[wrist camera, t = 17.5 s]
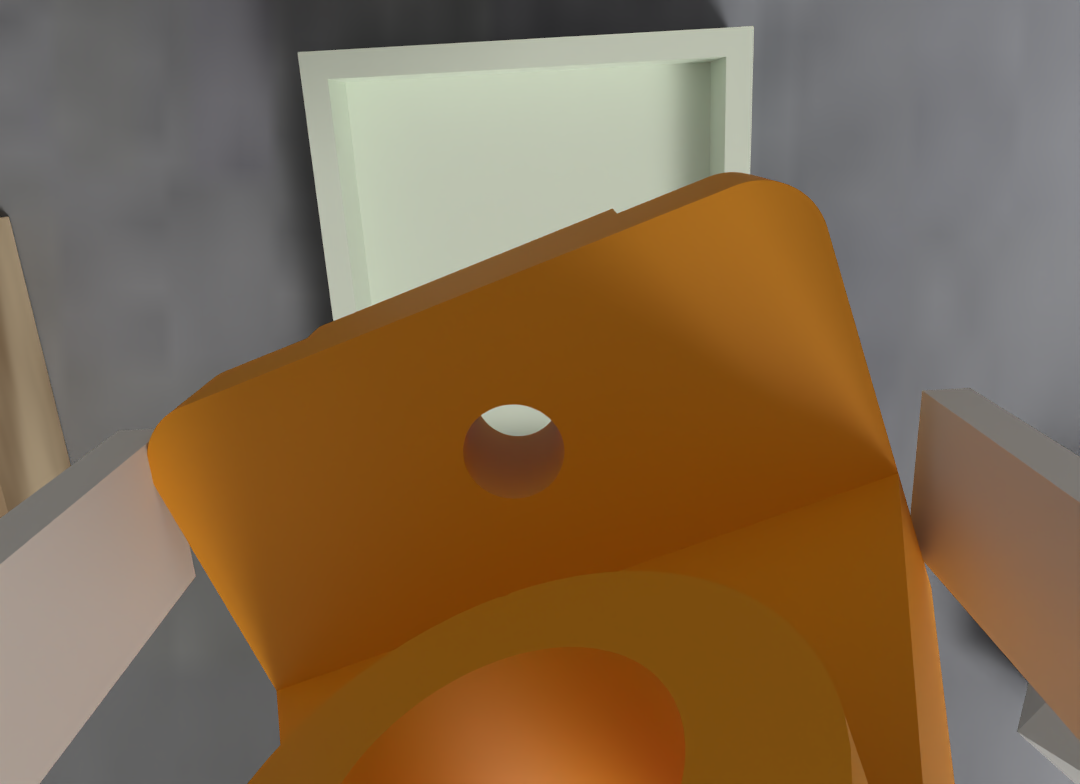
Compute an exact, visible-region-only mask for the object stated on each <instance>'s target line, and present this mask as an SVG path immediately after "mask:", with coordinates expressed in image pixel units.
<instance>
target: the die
mask: <svg viewBox="0 0 1080 784" xmlns="http://www.w3.org/2000/svg"><path fill="white" fill-rule="evenodd" d="M1017 732H1018V733H1019V734H1020V735H1022V736H1023V737H1024V738H1025V739H1026V740H1027V741H1028V742H1029V743H1030V744H1032V745H1033V746H1034V747H1035V748H1036V749H1037V750H1038V751H1039V752H1040V753H1042V754H1043V755H1044V756H1045V757H1046V758H1047V759H1048V760H1049V761H1050V762H1052V763H1053V764H1054V765H1055V766H1056V767H1057V768H1058V769H1059V770H1060V771H1062V772H1063V773H1064V774H1065V775H1066V776H1067V777H1068V778H1069V779H1070V780H1072V781H1073V782H1074V783H1075V784H1080V741H1079V740H1078V739H1077V738H1076V736H1075V735H1074V734H1073V733H1072V732H1071V731H1070V729H1069V728H1068V727H1067V726H1066V725H1065V724H1064V723H1063V721H1062V720H1061V719H1060V718H1059V717H1058V716H1057V714H1056V713H1055V712H1054V711H1053V710H1052V709H1051V708H1050V706H1049V705H1048V704H1047V703H1046V702H1045V701H1044V699H1043V698H1042V697H1041V696H1040V695H1039V694H1038V693H1037V691H1036V690H1035V689H1034V688H1033V687H1032V686H1031V684H1030V683H1028V687H1027V691H1026V696H1025V700H1024V704H1023V708H1022V713H1021V717H1020V721H1019V725H1018V730H1017Z"/></svg>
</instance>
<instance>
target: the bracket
mask: <svg viewBox="0 0 1080 784" xmlns="http://www.w3.org/2000/svg"><path fill="white" fill-rule="evenodd" d="M503 405H523V406H528V407H531V408H534V409H536V410H538V411H540V412H542V413H543V414H545V415H546V416H547V417H548V418H549V419H550V420H551V422H550V423H549V424H548V425H547V426H545V427H544V428H543V429H541V430H540V431H538V432H536V433H533V434H530V435H525V436H511V435H507V434H503V433H501V432H499V431H497V430H495V429H493V428H492V427H491V426H489V425H488V424H487V423H486V421H485V420H484V419H483V418H482V416H481V415H482V414H484V413H485V412H487V411H489V410H491V409H493V408H496V407H499V406H503ZM147 457H148V461H149V466H150V470H151V475H152V480H153V484H154V486H155V487H156V489H157V491H158V493H159V494H160V496H161V498H162V499H163V501H164V503H165V504H166V506H167V508H168V509H169V511H170V513H171V514H172V516H173V518H174V519H175V521H176V523H177V525H178V526H179V528H180V530H181V531H182V533H183V535H184V536H185V538H186V540H187V541H188V543H189V545H190V546H191V548H192V550H193V551H194V553H195V555H196V556H197V558H198V560H199V561H200V563H201V565H202V566H203V568H204V570H205V571H206V573H207V575H208V576H209V578H210V580H211V582H212V583H213V585H214V587H215V588H216V590H217V592H218V593H219V595H220V597H221V598H222V600H223V602H224V603H225V605H226V607H227V608H228V610H229V612H230V613H231V615H232V617H233V618H234V620H235V622H236V623H237V625H238V627H239V628H240V630H241V632H242V633H243V635H244V637H245V639H246V640H247V642H248V644H249V645H250V647H251V649H252V650H253V652H254V654H255V655H256V657H257V659H258V660H259V662H260V664H261V665H262V667H263V669H264V670H265V672H266V674H267V675H268V677H269V679H270V680H271V682H272V684H273V685H274V687H275V689H276V690H277V702H278V716H279V730H280V744H281V745H280V746H279V747H278V748H277V750H276V751H275V752H274V753H273V754H272V755H271V756H270V757H269V758H268V759H267V761H266V762H265V763H264V764H263V765H262V767H261V768H260V769H259V770H258V772H257V773H256V774H255V775H254V776H253V778H252V779H251V780H250V781H249V782H248V784H955V783H954V775H953V767H952V758H951V750H950V741H949V733H948V725H947V716H946V708H945V699H944V691H943V683H942V674H941V666H940V658H939V649H938V641H937V632H936V624H935V616H934V607H933V599H932V590H931V585H930V582H929V578H928V575H927V571H926V568H925V564H924V561H923V558H922V554H921V551H920V547H919V544H918V540H917V537H916V533H915V530H914V526H913V523H912V519H911V516H910V512H909V509H908V506H907V502H906V499H905V495H904V492H903V488H902V485H901V481H900V478H899V474H898V471H897V467H896V464H895V460H894V457H893V454H892V450H891V447H890V443H889V440H888V436H887V433H886V429H885V426H884V422H883V419H882V415H881V412H880V408H879V405H878V402H877V398H876V395H875V391H874V388H873V384H872V381H871V377H870V374H869V370H868V367H867V363H866V360H865V356H864V353H863V350H862V346H861V343H860V339H859V336H858V332H857V329H856V325H855V322H854V318H853V315H852V311H851V308H850V304H849V301H848V297H847V294H846V291H845V287H844V284H843V280H842V277H841V273H840V270H839V266H838V263H837V259H836V256H835V252H834V249H833V245H832V242H831V239H830V235H829V232H828V228H827V225H826V222H825V220H824V218H823V216H822V214H821V212H820V211H819V209H818V207H817V206H816V205H815V204H814V202H813V201H812V200H811V199H810V198H809V197H808V196H806V195H805V194H804V193H802V192H801V191H799V190H798V189H796V188H794V187H792V186H790V185H787V184H784V183H781V182H777V181H773V180H770V179H766V178H762V177H758V176H754V175H750V174H746V173H740V172H726V173H719V174H715V175H712V176H709V177H707V178H704V179H702V180H699V181H697V182H694V183H692V184H689V185H687V186H684V187H682V188H679V189H677V190H674V191H672V192H669V193H667V194H664V195H662V196H659V197H657V198H655V199H652V200H650V201H647V202H645V203H642V204H640V205H637V206H635V207H632V208H630V209H627V210H625V211H622V212H620V213H616V212H615V211H614V209H613V208H612V209H610V210H607V211H605V212H602V213H600V214H598V215H595V216H593V217H590V218H588V219H585V220H583V221H580V222H578V223H575V224H573V225H570V226H568V227H565V228H563V229H560V230H558V231H555V232H553V233H550V234H548V235H545V236H543V237H541V238H538V239H536V240H533V241H531V242H528V243H526V244H523V245H521V246H518V247H516V248H513V249H511V250H508V251H506V252H503V253H501V254H498V255H496V256H493V257H491V258H488V259H486V260H484V261H481V262H479V263H476V264H474V265H471V266H469V267H466V268H464V269H461V270H459V271H456V272H454V273H451V274H449V275H446V276H444V277H441V278H439V279H436V280H434V281H432V282H429V283H427V284H424V285H422V286H419V287H417V288H414V289H412V290H409V291H407V292H404V293H402V294H399V295H397V296H394V297H392V298H389V299H387V300H384V301H382V302H379V303H377V304H375V305H372V306H370V307H367V308H365V309H362V310H360V311H357V312H355V313H352V314H350V315H347V316H345V317H342V318H340V319H337V320H335V321H332V322H330V323H327V324H325V325H323V326H320V327H319V328H318V329H316V330H315V331H314V332H313V333H312V334H311V335H310V336H309V337H308V338H307V339H304V340H302V341H299V342H297V343H294V344H292V345H289V346H287V347H284V348H282V349H279V350H277V351H275V352H272V353H270V354H267V355H265V356H262V357H260V358H257V359H255V360H252V361H250V362H247V363H245V364H242V365H240V366H237V367H235V368H232V369H230V370H227V371H225V372H223V373H221V374H219V375H217V376H216V377H214V378H213V379H212V380H211V381H209V382H208V383H207V384H206V385H204V386H203V387H202V388H201V389H199V390H198V391H197V392H196V393H194V394H193V395H192V396H191V397H189V398H188V399H187V400H186V401H184V402H183V403H182V404H181V405H179V406H178V407H177V408H176V409H174V410H173V411H172V412H171V413H169V414H168V415H167V416H165V417H164V418H163V419H162V420H161V421H160V422H159V424H158V425H157V426H156V428H155V430H154V431H153V433H152V435H151V438H150V441H149V444H148V449H147Z"/></svg>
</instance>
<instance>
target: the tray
mask: <svg viewBox="0 0 1080 784" xmlns="http://www.w3.org/2000/svg"><path fill="white" fill-rule="evenodd" d="M753 40H754V26H748V27H730V28H712V29H695V30H677V31H660V32H642V33H624V34H607V35H589V36H572V37H554V38H537V39H519V40H501V41H484V42H466V43H449V44H431V45H414V46H396V47H378V48H361V49H343V50H326V51H308V52H298V60H299V67H300V75H301V82H302V90H303V97H304V105H305V112H306V120H307V127H308V135H309V142H310V150H311V157H312V165H313V172H314V180H315V187H316V195H317V202H318V210H319V217H320V225H321V232H322V240H323V247H324V255H325V262H326V270H327V277H328V285H329V292H330V300H331V307H332V315H333V321H335V320H337V319H340V318H342V317H345V316H347V315H350V314H352V313H355V312H357V311H360V310H362V309H365V308H367V307H370V306H372V305H375V304H377V303H379V302H382V301H384V300H387V299H389V298H392V297H394V296H397V295H399V294H402V293H404V292H407V291H409V290H412V289H414V288H417V287H419V286H422V285H424V284H427V283H429V282H432V281H434V280H436V279H439V278H441V277H444V276H446V275H449V274H451V273H454V272H456V271H459V270H461V269H464V268H466V267H469V266H471V265H474V264H476V263H479V262H481V261H484V260H486V259H488V258H491V257H493V256H496V255H498V254H501V253H503V252H506V251H508V250H511V249H513V248H516V247H518V246H521V245H523V244H526V243H528V242H531V241H533V240H536V239H538V238H541V237H543V236H545V235H548V234H550V233H553V232H555V231H558V230H560V229H563V228H565V227H568V226H570V225H573V224H575V223H578V222H580V221H583V220H585V219H588V218H590V217H593V216H595V215H598V214H600V213H602V212H605V211H607V210H610V209H612V208H613V209H614V211H615V212H616V213H620V212H622V211H625V210H627V209H630V208H632V207H635V206H637V205H640V204H642V203H645V202H647V201H650V200H652V199H655V198H657V197H659V196H662V195H664V194H667V193H669V192H672V191H674V190H677V189H679V188H682V187H684V186H687V185H689V184H692V183H694V182H697V181H699V180H702V179H704V178H707V177H709V176H712V175H715V174H719V173H726V172H740V173H746V174H750V159H751V119H752V80H753ZM481 416H482V418H483V419H484V420H485V421H486V423H487V424H488V425H489V426H491V427H492V428H493V429H495V430H497V431H499V432H501V433H503V434H507V435H511V436H525V435H530V434H533V433H536V432H538V431H540V430H541V429H543V428H544V427H545V426H547V425H548V424H549V423H550V422H551V420H550V419H549V418H548V417H547V416H546V415H545V414H543V413H542V412H540V411H538V410H536V409H534V408H531V407H528V406H523V405H503V406H499V407H496V408H493V409H491V410H489V411H487V412H485V413H484V414H482V415H481Z"/></svg>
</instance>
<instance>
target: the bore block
mask: <svg viewBox="0 0 1080 784" xmlns="http://www.w3.org/2000/svg"><path fill="white" fill-rule="evenodd" d="M70 466H71V465H70V461H69V457H68V453H67V449H66V445H65V441H64V437H63V433H62V429H61V425H60V421H59V417H58V413H57V409H56V405H55V400H54V396H53V392H52V388H51V384H50V380H49V376H48V372H47V368H46V364H45V360H44V356H43V352H42V348H41V344H40V340H39V336H38V332H37V328H36V324H35V320H34V316H33V312H32V308H31V304H30V300H29V296H28V292H27V288H26V284H25V280H24V276H23V272H22V268H21V264H20V260H19V256H18V251H17V247H16V243H15V239H14V235H13V231H12V227H11V223H10V219H9V217H0V518H1V517H3V516H4V515H5V514H7V513H8V512H9V511H11V510H12V509H13V508H15V507H16V506H17V505H19V504H20V503H22V502H23V501H24V500H26V499H27V498H28V497H30V496H31V495H32V494H34V493H35V492H36V491H38V490H39V489H40V488H42V487H43V486H45V485H46V484H47V483H49V482H50V481H51V480H53V479H54V478H55V477H57V476H58V475H59V474H61V473H62V472H63V471H65V470H66V469H67V468H69V467H70Z"/></svg>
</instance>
